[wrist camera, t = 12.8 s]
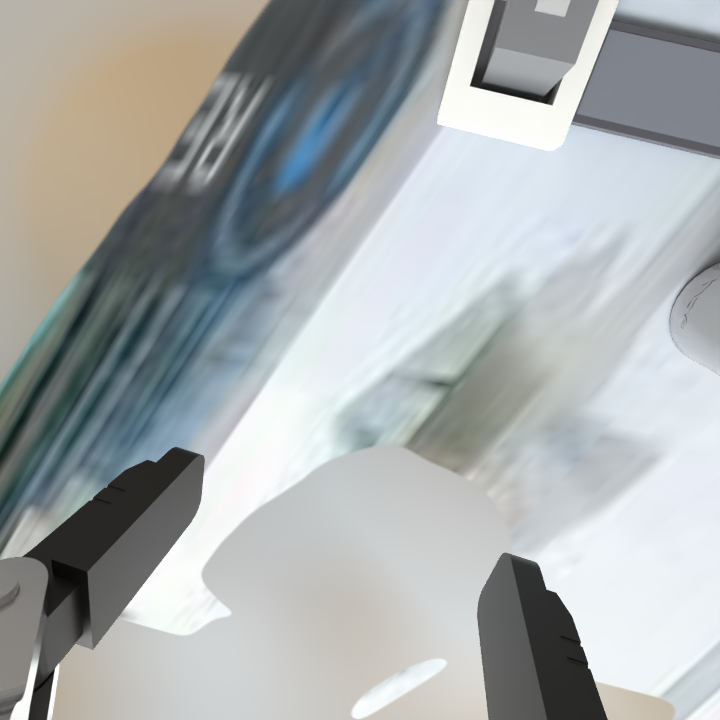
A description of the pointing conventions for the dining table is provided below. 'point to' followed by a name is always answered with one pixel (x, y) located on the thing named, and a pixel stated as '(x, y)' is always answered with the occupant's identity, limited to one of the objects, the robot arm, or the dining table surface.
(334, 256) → the dining table surface
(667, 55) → the phone
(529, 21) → the block
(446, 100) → the power strip
